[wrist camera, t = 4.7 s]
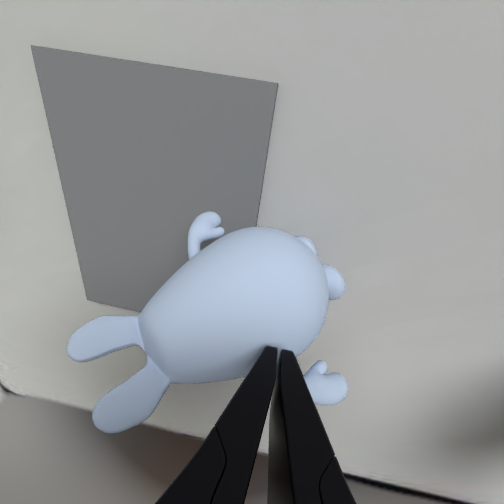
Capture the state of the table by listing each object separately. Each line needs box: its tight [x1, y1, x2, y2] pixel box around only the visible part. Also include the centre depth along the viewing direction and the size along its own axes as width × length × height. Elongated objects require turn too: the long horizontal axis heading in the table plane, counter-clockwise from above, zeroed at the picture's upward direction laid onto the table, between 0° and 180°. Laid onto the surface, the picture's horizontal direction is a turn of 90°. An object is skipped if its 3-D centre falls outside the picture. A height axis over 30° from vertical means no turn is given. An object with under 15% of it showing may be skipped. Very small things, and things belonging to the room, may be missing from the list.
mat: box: [31, 45, 278, 312], centre depth 17 cm, size 12×16×1 cm
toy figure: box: [67, 211, 348, 433], centre depth 12 cm, size 11×6×12 cm
